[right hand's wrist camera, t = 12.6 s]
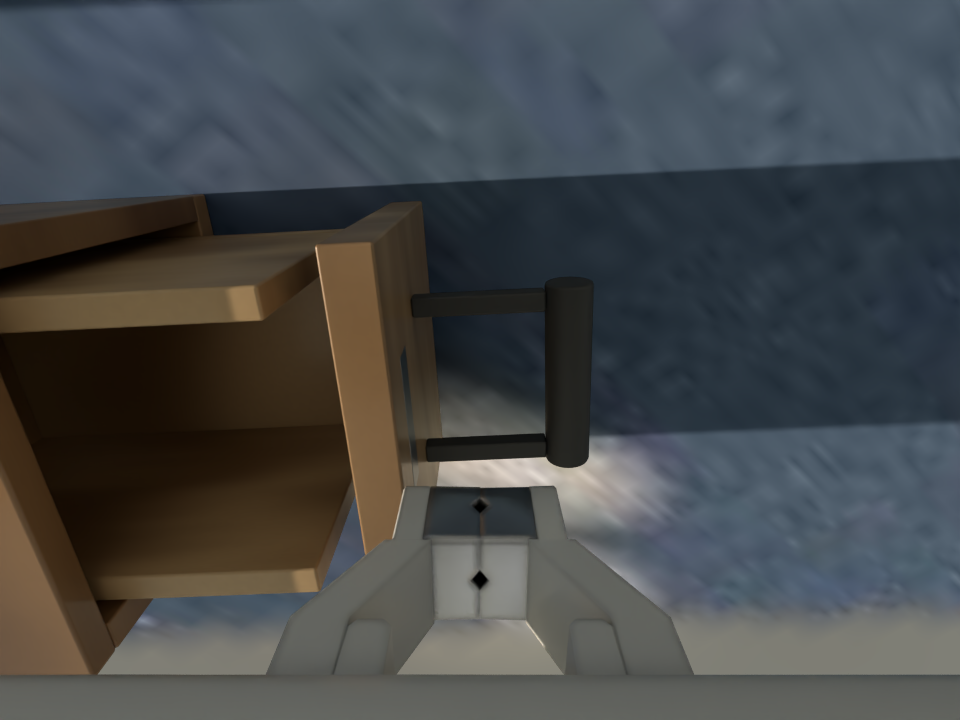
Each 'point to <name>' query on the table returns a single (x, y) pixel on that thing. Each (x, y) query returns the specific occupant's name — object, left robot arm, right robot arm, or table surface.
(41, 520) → the cabinet
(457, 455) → the drawer
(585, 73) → the table surface
